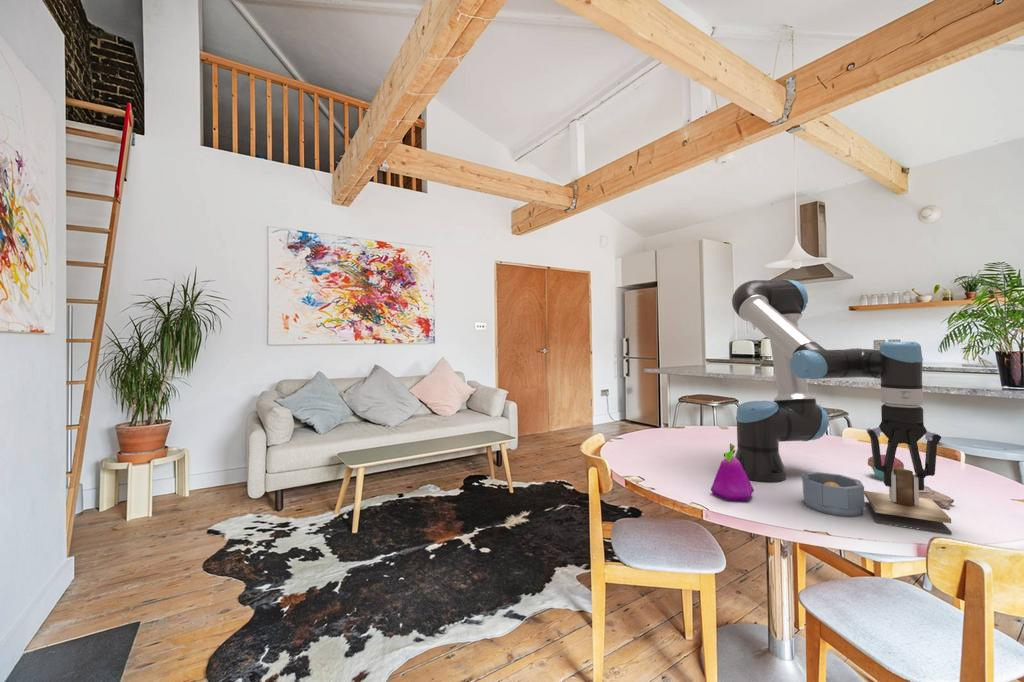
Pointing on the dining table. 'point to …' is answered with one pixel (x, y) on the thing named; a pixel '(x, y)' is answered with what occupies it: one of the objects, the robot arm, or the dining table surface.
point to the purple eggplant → (732, 480)
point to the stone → (936, 497)
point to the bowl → (833, 494)
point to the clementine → (831, 483)
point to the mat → (908, 521)
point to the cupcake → (878, 473)
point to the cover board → (906, 511)
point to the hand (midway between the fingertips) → (903, 501)
